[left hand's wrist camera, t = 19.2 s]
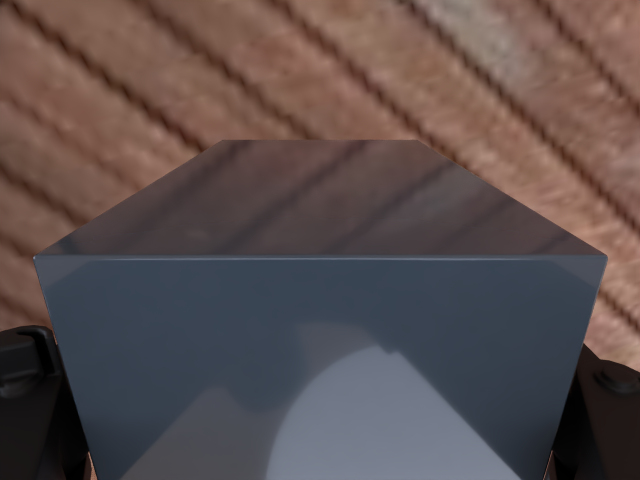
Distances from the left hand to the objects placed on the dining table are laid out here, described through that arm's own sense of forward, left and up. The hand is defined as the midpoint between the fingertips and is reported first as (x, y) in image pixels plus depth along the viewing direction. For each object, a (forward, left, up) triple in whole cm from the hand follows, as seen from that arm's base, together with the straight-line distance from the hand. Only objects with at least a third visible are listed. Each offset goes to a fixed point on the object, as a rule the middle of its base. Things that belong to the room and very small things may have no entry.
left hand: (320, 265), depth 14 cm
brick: (0, 0, -3) cm, 3 cm away
